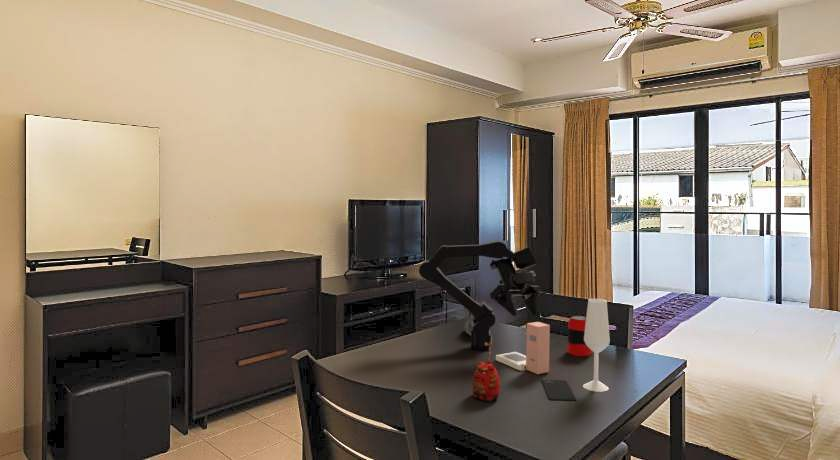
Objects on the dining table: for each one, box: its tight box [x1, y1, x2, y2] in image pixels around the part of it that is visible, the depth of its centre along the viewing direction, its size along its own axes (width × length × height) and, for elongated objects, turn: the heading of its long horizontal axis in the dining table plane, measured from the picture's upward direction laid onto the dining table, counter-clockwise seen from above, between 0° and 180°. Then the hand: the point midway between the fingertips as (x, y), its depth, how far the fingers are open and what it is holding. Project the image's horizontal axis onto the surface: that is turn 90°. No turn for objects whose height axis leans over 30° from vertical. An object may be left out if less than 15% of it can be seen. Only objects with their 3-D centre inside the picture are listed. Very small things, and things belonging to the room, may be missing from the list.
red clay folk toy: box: [471, 337, 501, 402], centre depth 133 cm, size 8×7×15 cm
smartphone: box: [540, 379, 577, 402], centre depth 139 cm, size 7×1×15 cm
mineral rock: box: [464, 314, 475, 336], centre depth 196 cm, size 13×11×10 cm
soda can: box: [567, 315, 592, 357], centre depth 172 cm, size 8×8×12 cm
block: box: [525, 321, 551, 375], centre depth 153 cm, size 5×5×14 cm
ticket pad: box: [495, 351, 527, 372], centre depth 162 cm, size 12×8×2 cm, turn 29°
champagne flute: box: [582, 298, 611, 393], centre depth 140 cm, size 7×7×24 cm
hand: (525, 315), depth 167 cm, fingers open, 9 cm apart
